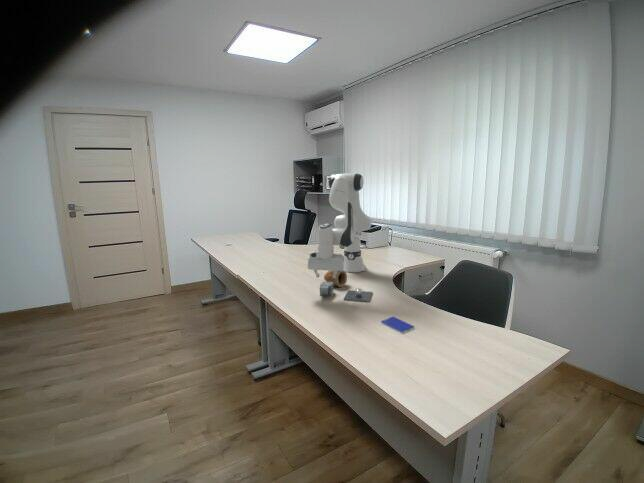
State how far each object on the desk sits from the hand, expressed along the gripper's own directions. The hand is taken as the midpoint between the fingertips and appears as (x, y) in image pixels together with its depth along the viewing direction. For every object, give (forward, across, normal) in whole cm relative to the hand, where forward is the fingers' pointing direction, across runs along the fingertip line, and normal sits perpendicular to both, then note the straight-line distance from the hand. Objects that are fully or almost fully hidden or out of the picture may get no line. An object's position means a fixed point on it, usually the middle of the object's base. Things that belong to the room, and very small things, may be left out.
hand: (325, 277), depth 182 cm
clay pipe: (+10, -1, -21) cm, 23 cm away
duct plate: (+10, -18, -2) cm, 21 cm away
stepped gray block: (+10, 0, 0) cm, 10 cm away
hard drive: (+12, -40, +29) cm, 51 cm away
